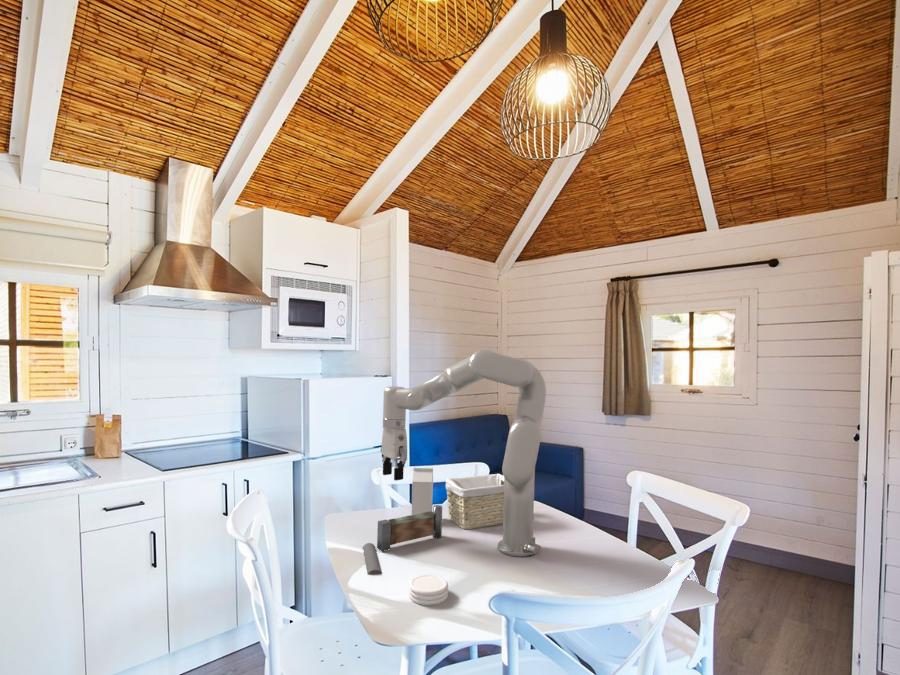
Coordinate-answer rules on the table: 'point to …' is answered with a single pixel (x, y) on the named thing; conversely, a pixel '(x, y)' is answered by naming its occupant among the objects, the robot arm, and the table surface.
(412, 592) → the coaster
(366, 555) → the half round rod
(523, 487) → the robot arm
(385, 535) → the gate posts
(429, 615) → the table surface
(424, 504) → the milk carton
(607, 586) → the table surface
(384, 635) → the table surface
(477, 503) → the storage basket
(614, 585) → the table surface
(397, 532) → the wooden board
